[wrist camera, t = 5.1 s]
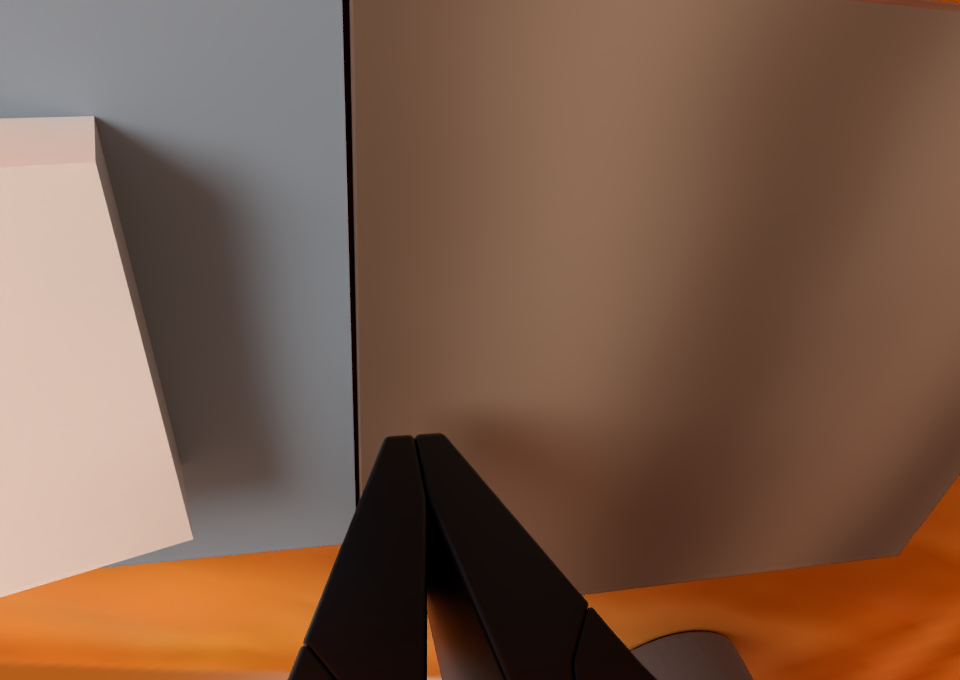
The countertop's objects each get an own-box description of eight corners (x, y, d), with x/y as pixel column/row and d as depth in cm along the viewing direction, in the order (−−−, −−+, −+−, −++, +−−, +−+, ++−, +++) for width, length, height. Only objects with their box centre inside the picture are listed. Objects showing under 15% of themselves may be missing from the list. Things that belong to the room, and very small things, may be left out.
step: (1085, 17, 11) (1286, 45, 9) (823, 469, 18) (897, 555, 16) (347, -62, 9) (352, -52, 6) (359, 509, 15) (364, 622, 13)
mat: (339, -107, 8) (338, -108, 8) (356, 523, 16) (356, 543, 15) (-472, -207, 6) (-537, -217, 6) (-25, 558, 14) (-38, 581, 13)
